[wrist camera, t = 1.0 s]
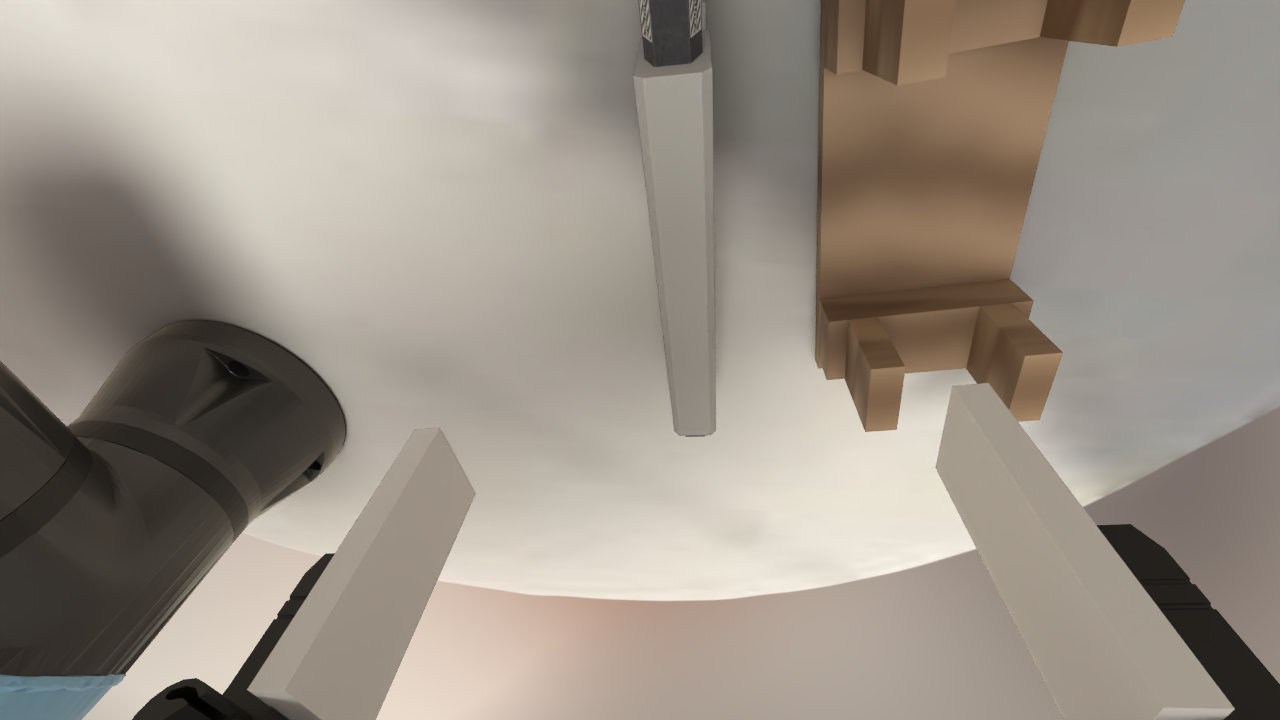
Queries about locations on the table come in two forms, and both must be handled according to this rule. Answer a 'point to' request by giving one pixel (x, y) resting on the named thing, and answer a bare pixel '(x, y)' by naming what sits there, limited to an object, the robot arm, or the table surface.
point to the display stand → (941, 185)
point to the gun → (681, 197)
